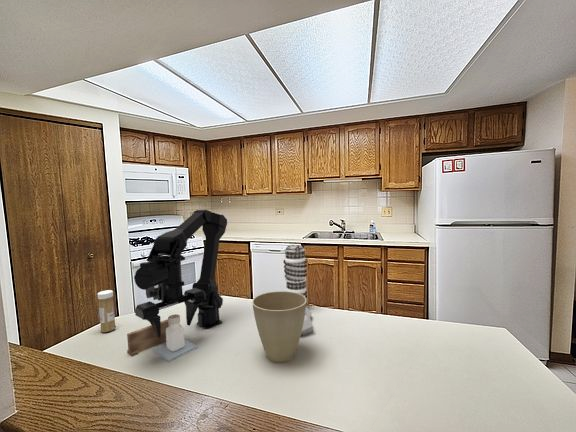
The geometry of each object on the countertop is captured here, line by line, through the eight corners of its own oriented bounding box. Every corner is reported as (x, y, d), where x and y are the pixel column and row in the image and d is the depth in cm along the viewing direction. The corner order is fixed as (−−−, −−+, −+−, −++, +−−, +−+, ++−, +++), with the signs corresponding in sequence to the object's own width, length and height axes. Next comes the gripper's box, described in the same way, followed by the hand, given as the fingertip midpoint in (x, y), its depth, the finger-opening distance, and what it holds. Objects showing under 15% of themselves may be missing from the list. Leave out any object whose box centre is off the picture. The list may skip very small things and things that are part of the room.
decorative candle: (301, 315, 105) (299, 248, 103) (280, 310, 110) (278, 247, 108) (312, 307, 113) (310, 244, 111) (292, 303, 118) (290, 243, 116)
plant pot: (298, 377, 69) (296, 313, 68) (244, 366, 74) (242, 307, 73) (314, 346, 83) (312, 293, 82) (267, 338, 88) (266, 288, 87)
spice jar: (116, 330, 98) (113, 292, 97) (100, 334, 95) (97, 294, 94) (115, 325, 102) (112, 288, 101) (100, 329, 99) (97, 291, 98)
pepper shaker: (185, 347, 84) (183, 315, 83) (172, 353, 81) (170, 320, 80) (178, 343, 86) (176, 312, 86) (165, 348, 83) (163, 317, 83)
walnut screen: (172, 334, 94) (171, 316, 93) (177, 337, 92) (176, 318, 91) (127, 352, 83) (125, 333, 83) (131, 356, 81) (130, 336, 80)
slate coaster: (181, 339, 90) (181, 337, 90) (197, 348, 84) (197, 346, 84) (153, 351, 83) (153, 349, 83) (168, 362, 77) (168, 360, 77)
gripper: (185, 268, 94) (188, 313, 95) (125, 281, 80) (129, 335, 81) (205, 272, 87) (207, 322, 88) (142, 289, 73) (146, 347, 74)
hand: (174, 330), depth 83 cm, fingers open, 9 cm apart
